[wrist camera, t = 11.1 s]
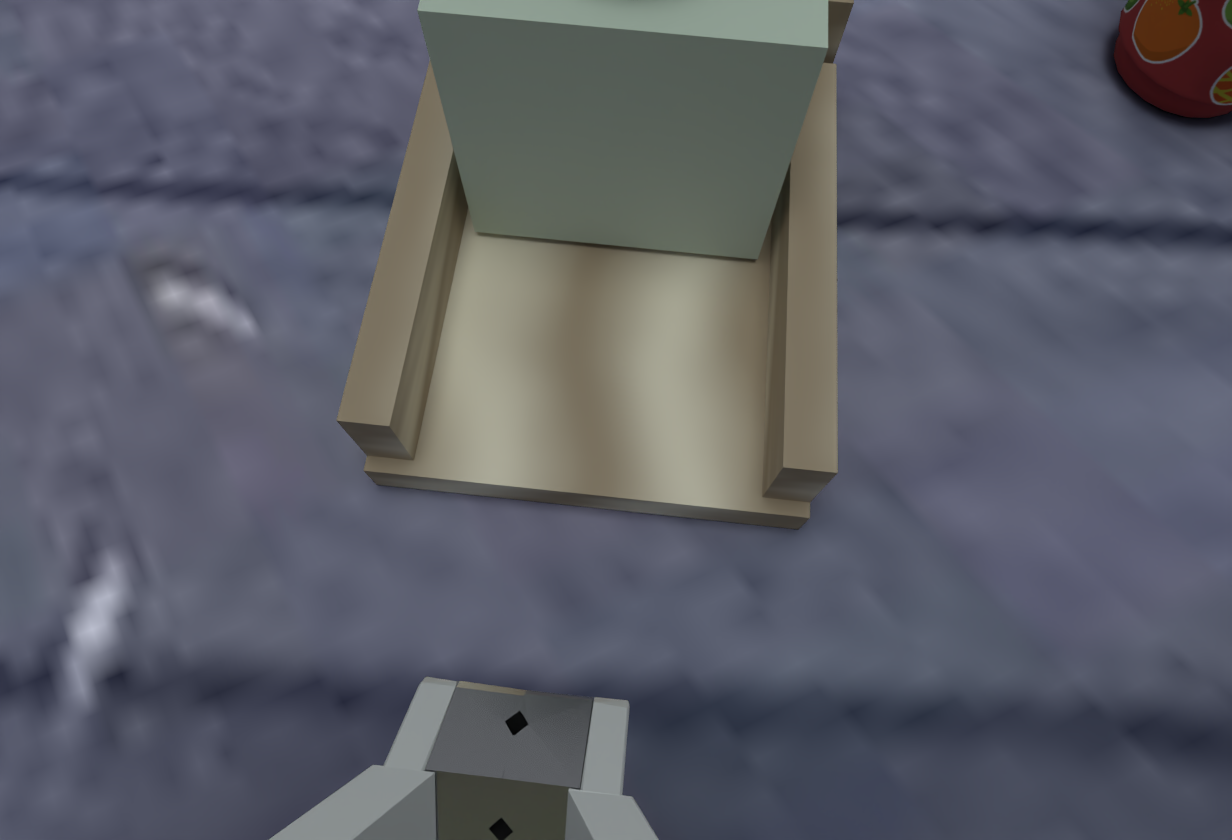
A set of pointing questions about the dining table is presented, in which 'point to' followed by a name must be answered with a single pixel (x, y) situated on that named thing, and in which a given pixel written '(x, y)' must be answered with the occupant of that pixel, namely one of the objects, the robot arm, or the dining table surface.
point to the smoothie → (1178, 54)
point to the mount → (604, 350)
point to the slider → (626, 115)
